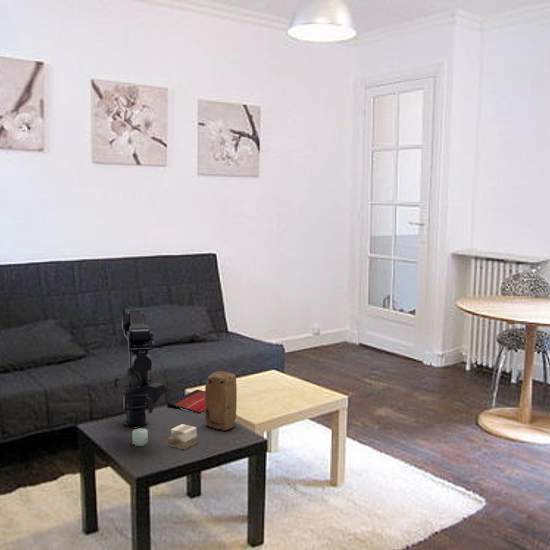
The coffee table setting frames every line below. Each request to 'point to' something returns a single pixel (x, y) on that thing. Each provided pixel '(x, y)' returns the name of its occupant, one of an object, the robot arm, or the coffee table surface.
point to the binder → (191, 401)
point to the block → (221, 400)
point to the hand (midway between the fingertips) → (140, 410)
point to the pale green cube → (140, 436)
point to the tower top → (184, 432)
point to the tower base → (182, 442)
